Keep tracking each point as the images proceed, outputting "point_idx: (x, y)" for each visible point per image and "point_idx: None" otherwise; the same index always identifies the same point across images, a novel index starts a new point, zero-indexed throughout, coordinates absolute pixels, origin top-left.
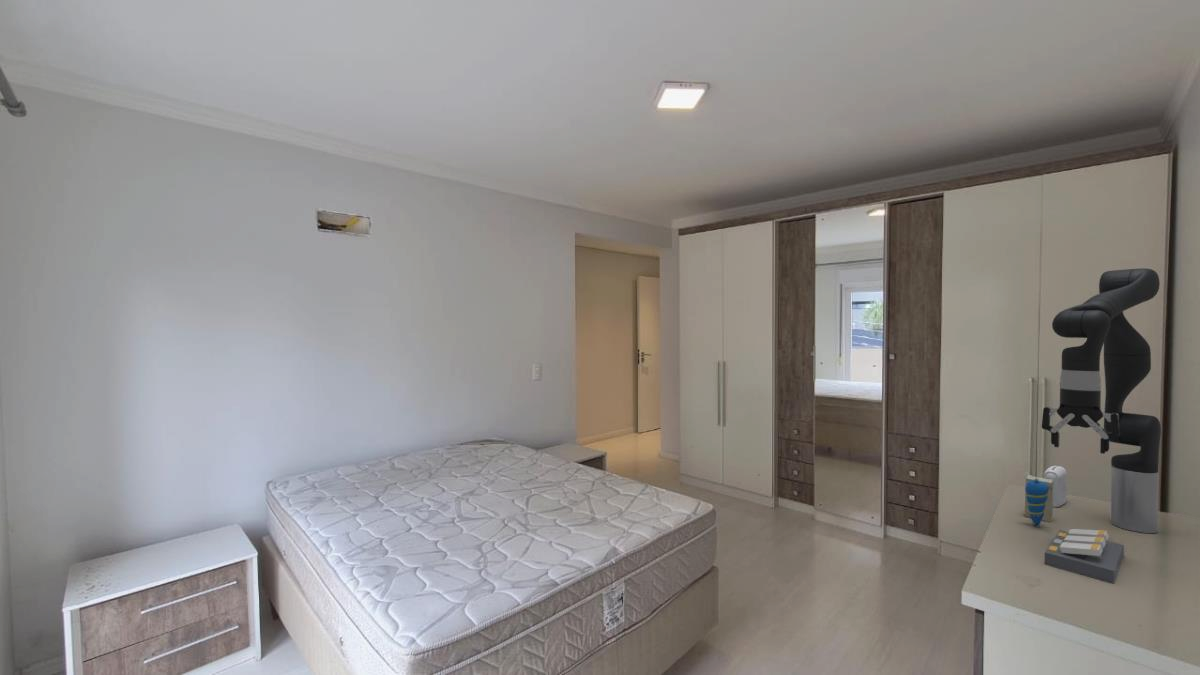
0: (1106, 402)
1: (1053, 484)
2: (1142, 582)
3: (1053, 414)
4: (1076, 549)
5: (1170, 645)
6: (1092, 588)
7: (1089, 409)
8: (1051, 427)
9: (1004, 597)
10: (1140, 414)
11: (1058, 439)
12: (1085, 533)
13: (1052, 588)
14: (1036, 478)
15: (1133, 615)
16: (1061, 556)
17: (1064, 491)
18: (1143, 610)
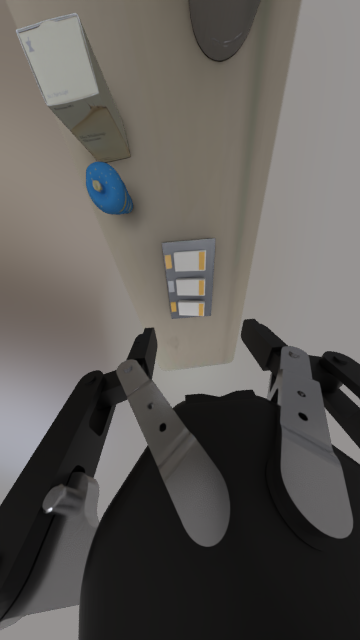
0: None
1: None
2: (222, 293)
3: (97, 493)
4: (189, 315)
5: (228, 356)
6: (199, 327)
7: None
8: (125, 399)
9: (172, 365)
10: None
11: (152, 353)
12: (188, 268)
13: (184, 343)
14: (96, 188)
15: (217, 342)
16: (181, 317)
17: None
18: (221, 334)
